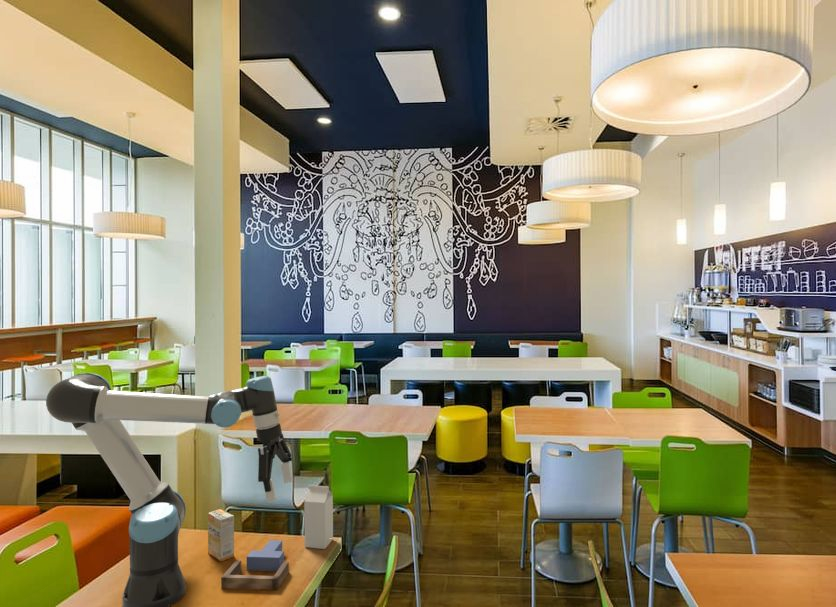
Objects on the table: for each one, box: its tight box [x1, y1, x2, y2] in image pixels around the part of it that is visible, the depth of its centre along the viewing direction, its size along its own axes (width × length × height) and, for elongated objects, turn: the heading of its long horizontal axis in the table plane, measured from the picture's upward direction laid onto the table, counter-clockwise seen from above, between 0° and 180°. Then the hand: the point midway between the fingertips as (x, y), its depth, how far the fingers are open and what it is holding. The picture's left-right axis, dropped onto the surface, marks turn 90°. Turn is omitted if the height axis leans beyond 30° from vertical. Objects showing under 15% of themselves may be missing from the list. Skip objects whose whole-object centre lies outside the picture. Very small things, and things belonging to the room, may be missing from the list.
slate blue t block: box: [246, 539, 285, 572], centre depth 157 cm, size 11×10×4 cm
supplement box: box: [207, 508, 235, 562], centre depth 162 cm, size 8×5×13 cm, turn 49°
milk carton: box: [303, 484, 334, 550], centre depth 169 cm, size 7×7×19 cm
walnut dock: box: [220, 560, 290, 591], centre depth 147 cm, size 16×10×3 cm, turn 85°
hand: (280, 491), depth 162 cm, fingers open, 13 cm apart
